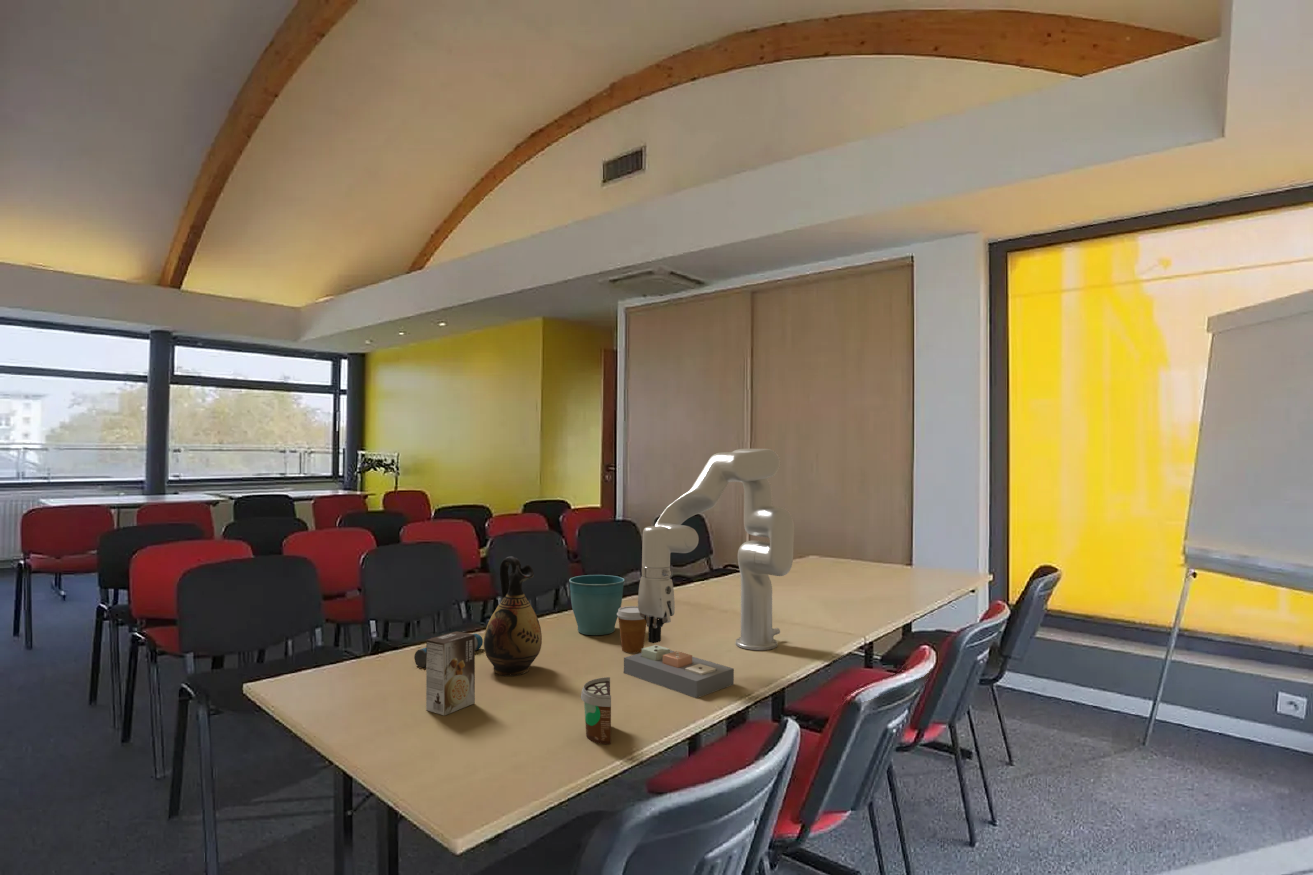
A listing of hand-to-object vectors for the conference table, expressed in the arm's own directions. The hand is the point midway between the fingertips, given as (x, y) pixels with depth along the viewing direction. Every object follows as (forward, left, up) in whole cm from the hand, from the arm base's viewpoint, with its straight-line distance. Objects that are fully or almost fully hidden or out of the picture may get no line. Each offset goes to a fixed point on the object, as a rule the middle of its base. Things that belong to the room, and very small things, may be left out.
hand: (654, 641), depth 184 cm
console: (0, +8, -8) cm, 11 cm away
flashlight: (+33, -49, -8) cm, 60 cm away
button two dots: (0, 0, -5) cm, 5 cm away
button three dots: (0, +8, -5) cm, 10 cm away
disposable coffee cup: (-9, -19, -8) cm, 23 cm away
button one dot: (0, +16, -7) cm, 18 cm away
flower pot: (-15, -43, -8) cm, 46 cm away
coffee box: (+52, -14, -8) cm, 54 cm away
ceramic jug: (+27, -28, -8) cm, 39 cm away
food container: (+38, +21, -8) cm, 44 cm away
